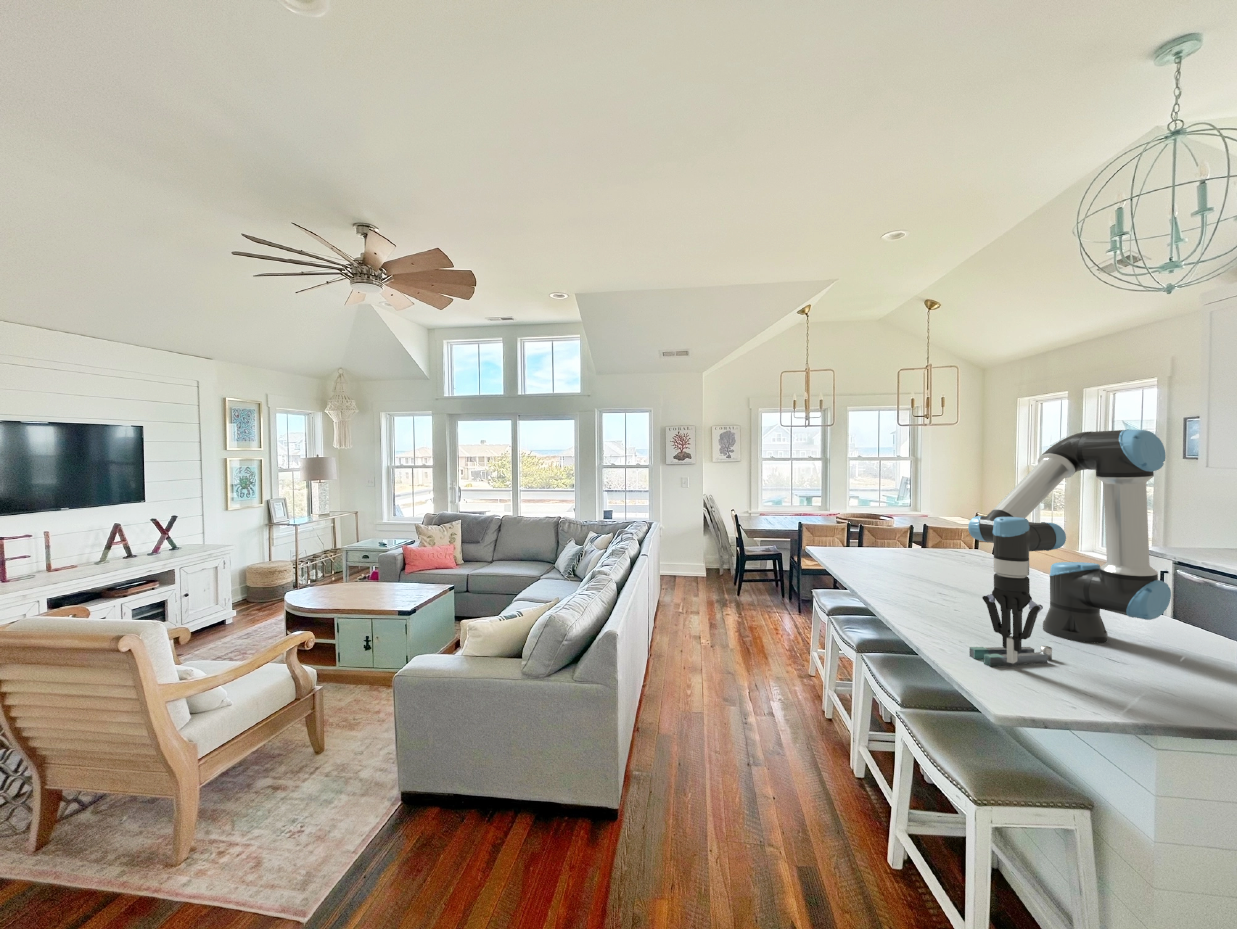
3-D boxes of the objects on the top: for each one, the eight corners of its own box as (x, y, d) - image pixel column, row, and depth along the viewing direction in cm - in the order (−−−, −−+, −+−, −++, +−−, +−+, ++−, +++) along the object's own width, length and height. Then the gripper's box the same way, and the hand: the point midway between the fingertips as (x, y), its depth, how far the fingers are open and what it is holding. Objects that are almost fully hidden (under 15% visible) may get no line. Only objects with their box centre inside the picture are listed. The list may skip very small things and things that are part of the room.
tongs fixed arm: (1042, 654, 139) (1042, 643, 139) (1054, 660, 135) (1054, 649, 135) (969, 656, 139) (969, 645, 139) (979, 661, 135) (979, 650, 135)
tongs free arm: (1040, 660, 135) (1040, 651, 135) (1047, 663, 134) (1047, 653, 134) (984, 663, 133) (984, 654, 133) (990, 666, 132) (990, 657, 131)
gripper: (1047, 577, 127) (1048, 666, 127) (989, 568, 138) (990, 650, 138) (1035, 581, 123) (1036, 673, 123) (977, 572, 134) (978, 656, 134)
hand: (1012, 661), depth 131 cm, fingers closed
